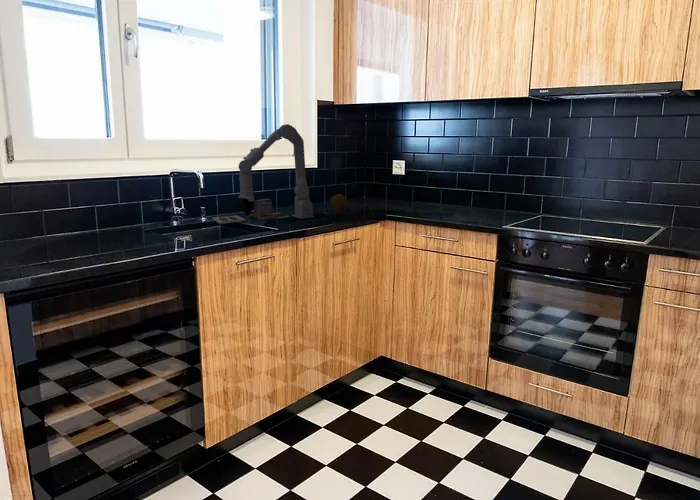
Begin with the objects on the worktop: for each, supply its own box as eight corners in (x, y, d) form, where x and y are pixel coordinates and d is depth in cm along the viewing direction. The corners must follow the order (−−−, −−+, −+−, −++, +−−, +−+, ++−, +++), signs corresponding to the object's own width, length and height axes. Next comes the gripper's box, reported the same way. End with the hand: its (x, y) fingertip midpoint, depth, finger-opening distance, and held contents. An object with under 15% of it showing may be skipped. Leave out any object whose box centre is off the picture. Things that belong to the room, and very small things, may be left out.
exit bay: (289, 217, 240) (289, 216, 239) (279, 218, 237) (279, 217, 237) (279, 213, 250) (279, 212, 250) (269, 214, 248) (269, 213, 248)
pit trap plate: (245, 221, 229) (245, 219, 229) (220, 224, 223) (219, 221, 223) (236, 217, 240) (236, 215, 239) (212, 219, 234) (211, 217, 234)
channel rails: (278, 218, 237) (278, 215, 236) (258, 220, 232) (258, 217, 231) (268, 214, 248) (268, 212, 247) (248, 216, 243) (248, 213, 242)
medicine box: (260, 219, 235) (259, 200, 233) (254, 218, 238) (253, 200, 236) (272, 216, 241) (271, 199, 239) (266, 215, 244) (265, 198, 242)
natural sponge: (345, 212, 254) (345, 192, 251) (351, 215, 245) (350, 194, 243) (328, 213, 251) (328, 193, 249) (333, 216, 243) (333, 195, 240)
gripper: (232, 185, 236) (234, 213, 239) (242, 188, 224) (244, 217, 227) (247, 184, 240) (248, 212, 243) (257, 187, 228) (259, 216, 231)
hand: (247, 214), depth 235 cm, fingers closed
